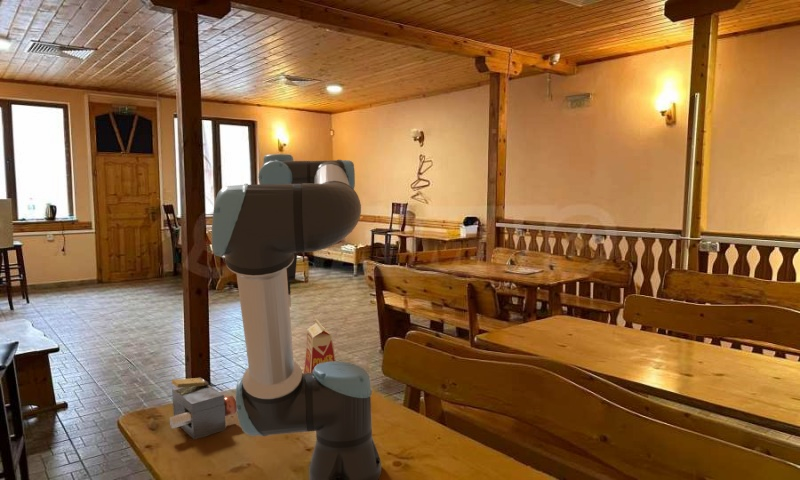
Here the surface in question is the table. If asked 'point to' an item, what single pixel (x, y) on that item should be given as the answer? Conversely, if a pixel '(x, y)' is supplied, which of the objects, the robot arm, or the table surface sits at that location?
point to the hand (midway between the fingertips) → (284, 306)
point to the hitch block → (200, 409)
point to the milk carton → (318, 347)
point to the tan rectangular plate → (189, 382)
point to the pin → (186, 417)
